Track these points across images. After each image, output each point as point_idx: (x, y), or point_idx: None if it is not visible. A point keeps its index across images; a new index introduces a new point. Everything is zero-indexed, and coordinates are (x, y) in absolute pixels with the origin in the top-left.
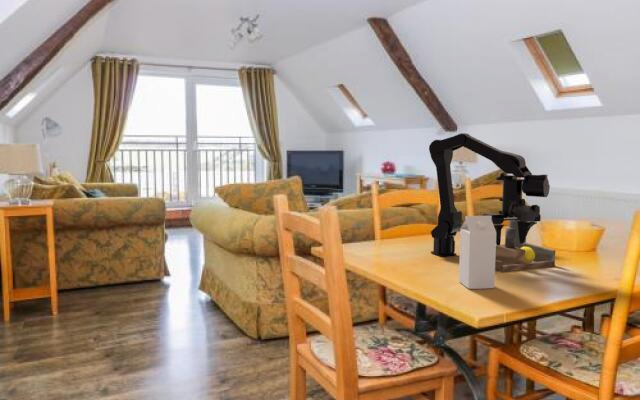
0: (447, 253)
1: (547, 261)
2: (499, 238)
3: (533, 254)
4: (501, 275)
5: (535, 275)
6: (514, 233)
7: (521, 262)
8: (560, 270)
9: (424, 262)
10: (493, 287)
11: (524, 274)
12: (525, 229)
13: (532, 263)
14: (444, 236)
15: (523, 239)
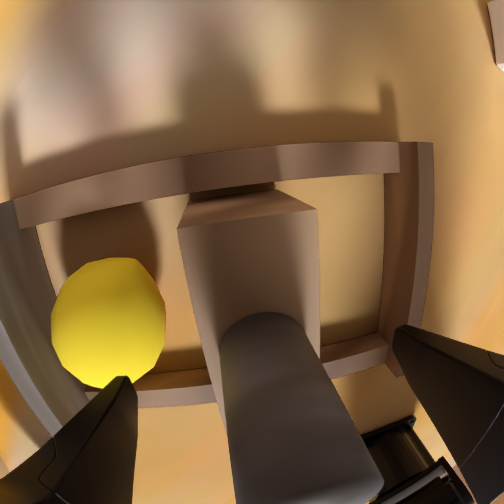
0: (392, 432)
1: (29, 205)
2: (453, 345)
3: (74, 277)
4: (421, 87)
5: (256, 16)
6: (288, 434)
7: (218, 200)
8: (37, 98)
9: (490, 344)
10: (490, 3)
11: (305, 50)
12: (67, 486)
13: (150, 164)
14: (447, 462)
15: (112, 397)
